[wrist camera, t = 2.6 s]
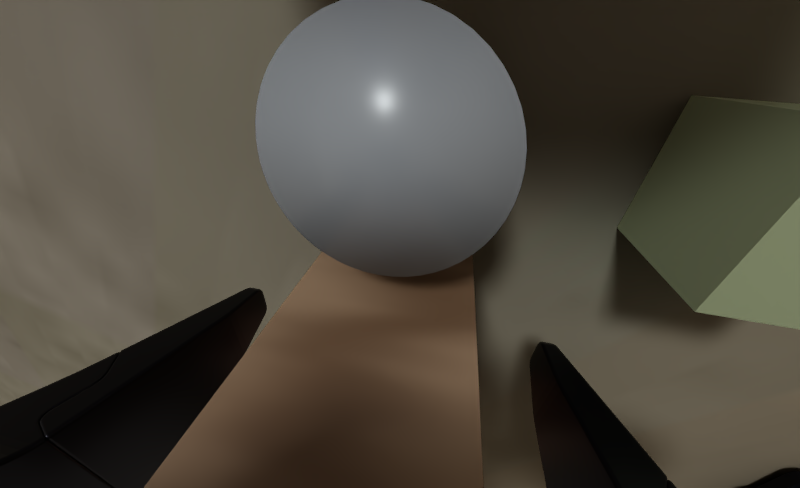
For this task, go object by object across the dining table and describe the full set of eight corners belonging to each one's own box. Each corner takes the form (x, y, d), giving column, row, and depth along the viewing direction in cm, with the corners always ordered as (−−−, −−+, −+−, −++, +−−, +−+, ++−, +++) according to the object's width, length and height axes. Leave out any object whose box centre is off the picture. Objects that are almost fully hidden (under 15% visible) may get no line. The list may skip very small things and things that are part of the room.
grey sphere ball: (519, 33, 6) (578, 1, 3) (478, 207, 9) (487, 293, 6) (336, 23, 7) (221, -14, 4) (345, 189, 9) (280, 258, 6)
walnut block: (471, 237, 9) (491, 646, 3) (451, 326, 12) (435, 658, 5) (346, 219, 10) (116, 524, 3) (350, 307, 12) (221, 586, 6)
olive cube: (869, 109, 6) (1239, 151, 3) (748, 244, 8) (909, 348, 5) (689, 94, 6) (868, 119, 4) (615, 226, 8) (694, 311, 6)
